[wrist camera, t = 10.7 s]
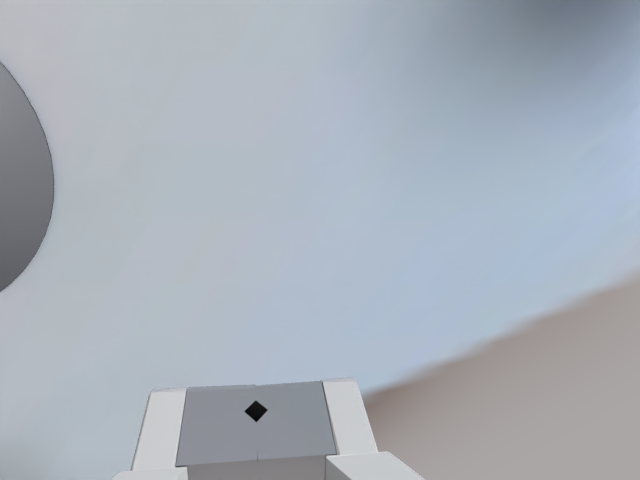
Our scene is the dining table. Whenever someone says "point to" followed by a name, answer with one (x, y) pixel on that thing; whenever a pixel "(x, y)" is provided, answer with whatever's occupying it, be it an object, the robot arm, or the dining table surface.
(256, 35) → the dining table surface
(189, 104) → the dining table surface
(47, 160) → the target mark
